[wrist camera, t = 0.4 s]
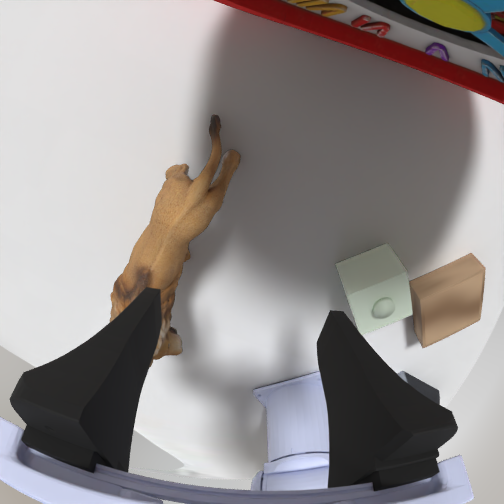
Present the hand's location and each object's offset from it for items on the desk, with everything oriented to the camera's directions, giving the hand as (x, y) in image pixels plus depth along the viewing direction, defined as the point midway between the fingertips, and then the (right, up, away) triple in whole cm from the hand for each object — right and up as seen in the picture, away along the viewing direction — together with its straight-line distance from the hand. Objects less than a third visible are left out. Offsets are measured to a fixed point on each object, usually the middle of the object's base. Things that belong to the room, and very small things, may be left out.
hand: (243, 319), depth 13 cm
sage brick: (+10, +1, +11) cm, 15 cm away
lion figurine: (-4, +5, +9) cm, 11 cm away
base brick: (+19, -1, +12) cm, 22 cm away
